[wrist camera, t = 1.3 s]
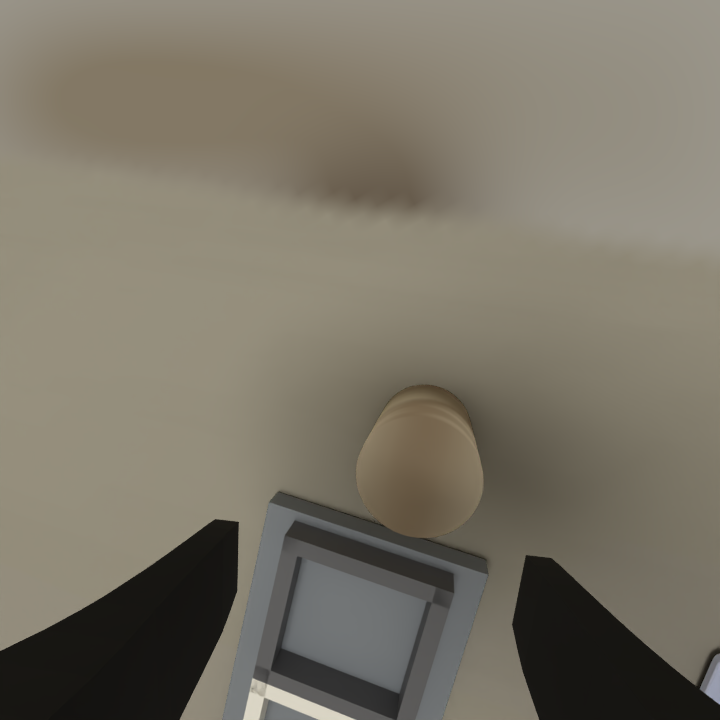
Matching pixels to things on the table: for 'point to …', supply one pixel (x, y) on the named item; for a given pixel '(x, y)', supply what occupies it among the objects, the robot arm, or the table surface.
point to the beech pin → (421, 464)
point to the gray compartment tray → (350, 620)
